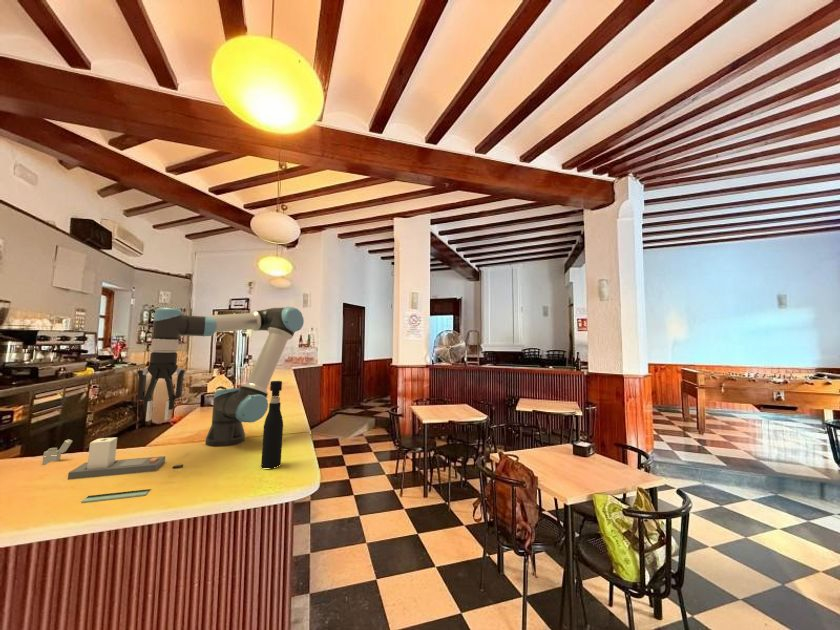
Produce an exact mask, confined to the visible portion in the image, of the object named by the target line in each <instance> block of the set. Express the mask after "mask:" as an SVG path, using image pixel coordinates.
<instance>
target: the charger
mask: <svg viewBox="0 0 840 630" xmlns="http://www.w3.org/2000/svg"><path fill="white" fill-rule="evenodd" d="M117 443H118V437H105V438H104V437H102V438H97V439H95V440H93V441H91V442H90V443H89V449H88V455H87V456H88V457H87V462H88V465H87V469H98V468H109V467H110V466H112V465H113V464H115V460H116V454H117V453H116V452H117V445H118V444H117Z"/></svg>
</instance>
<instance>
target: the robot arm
mask: <svg viewBox="0 0 840 630" xmlns="http://www.w3.org/2000/svg"><path fill="white" fill-rule="evenodd" d="M304 319H305V318H304V316H303V313H302V312H301V311H300V310H299V309H298V308H297V307H293V306H292V307H291V306H285V307H271V308H267V309H260V310H253V311H251V312H249V313H247V312H246V313H230V314H226V313H225V314H212V315H211V314H209V315H208V314H207V315H186V314H182V310H181V308H175V307H157V308H156V309H155V311H154V316H153V320H152V321H153V322H152V323H153V325H152V337H151V344H150V346H151V347H150V351H152V352H151V353H150V355H149V365H148V366H147V368H143V369H139V370H137V376H138V386H137V387H138V389H137V397H136V399H137V400H140V401H143V407H142V409H143V412H145V411H146V413H145V414H146V415H145V422H149V421H151V420H152V417H153V407H154V400H153V399H152V396H153V393H154V391H155V388H156V386H157V384H158V381H159V379H163V380H164V381H165V385H166V390H167V395H168V399H167V400H166V401H165V411H164V421H168V420H169V419H170V418H171V411H172V410H174V408H175V401H176V400H177V399H179V398H181V397H182V395H183V386H184V385H183V383H184V377H185V375H186V372H187V370H186V369H182V368H179V367H178V365H177V361H178V353H177V351H178V350H179V340H180V337H181V336H182V337H183V336H184V337H185V336H186V337H212V336H213V335H215V333H226V332H232V331H234V332H235V331H243V330H244V331H245V330H246V331H247V330H252V331H254V332H257V331H267V332H268V336H267V338H266V340H265V342H264V344H263V346H262V349H261V351H260V353H259V355H258V357H257V358H256V361H255V364H254V366H253V368H252V369H251V372H250V375H249V376H248V378H247V381H246V382H245V383H243V384H241V385H240V387H236V388H235V387H234V388H223V389H217V390H215V392H214V395H213V399H212V400H213V401H212V402H213V404H212V415H211V416H212V417H211V425H210V427H209V430H208V432H207V435H206V436H205V441H204V442H205V445H206V446H209V447H226V446H232V445H237V444H240V443H242V441H243V442H244V441H245V440H246V433H245V429H244V426H243V423H250V424H251V423H255V422H257V421H259V420H261V419H262V418H263V417H264V416H265V415H266V413H267V411H268V410H269V403H268V399H267V397H268V395H269V392H268V390H267V388H268V386H269V384H270V383H271V379H272V377H273V375H274V372H275V371H276V368H277V365H278V363H279V361H280V359H281V356H282V354H283V352H284V349H285V348H286V345H287V343H288V341H289V340H292V339H293V338H294V335H295V333H296V332H298V331H300V330H301V329H302V328H303V327H304V322H305V321H304ZM148 373H149V374H150V375H151V378H150V382H149V385H148V387H147V389H146V386H147V384H146V383H147V375H148ZM175 373H176V375H177V378H176V388H175V387H174V382H173V375H174V374H175Z"/></svg>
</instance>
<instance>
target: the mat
mask: <svg viewBox="0 0 840 630" xmlns="http://www.w3.org/2000/svg"><path fill="white" fill-rule="evenodd" d="M151 490H152V488H149V489H140V490H137V489H136V490H130V491H128V490H127V491H120V492H112V493H104V494H93V495H87V496H86V498H84V499H83V500H82V501H80V503H81V504H86V503H93V502H102V501H110V500H111V501H112V500H120V499H128V498H129V499H130V498H137V497H145V496H147V495H148V494H149V492H150V491H151Z"/></svg>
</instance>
